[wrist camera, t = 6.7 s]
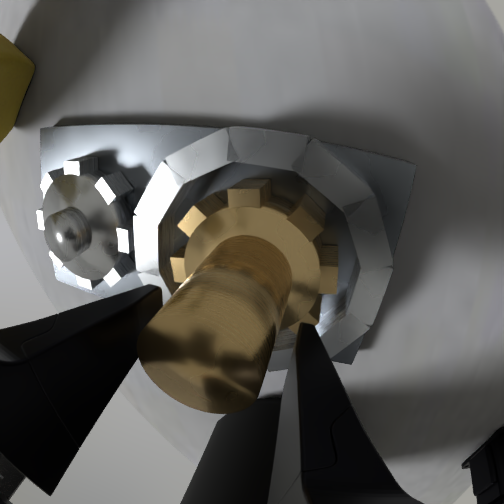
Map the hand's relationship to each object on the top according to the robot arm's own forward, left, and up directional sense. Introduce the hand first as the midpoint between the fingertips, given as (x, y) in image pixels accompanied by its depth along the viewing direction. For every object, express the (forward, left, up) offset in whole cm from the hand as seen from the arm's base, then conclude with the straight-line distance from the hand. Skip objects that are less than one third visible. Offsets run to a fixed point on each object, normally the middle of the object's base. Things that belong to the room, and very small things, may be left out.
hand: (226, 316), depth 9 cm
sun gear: (+9, 0, -6) cm, 11 cm away
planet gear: (0, 0, -4) cm, 5 cm away
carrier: (+4, 0, -6) cm, 7 cm away
